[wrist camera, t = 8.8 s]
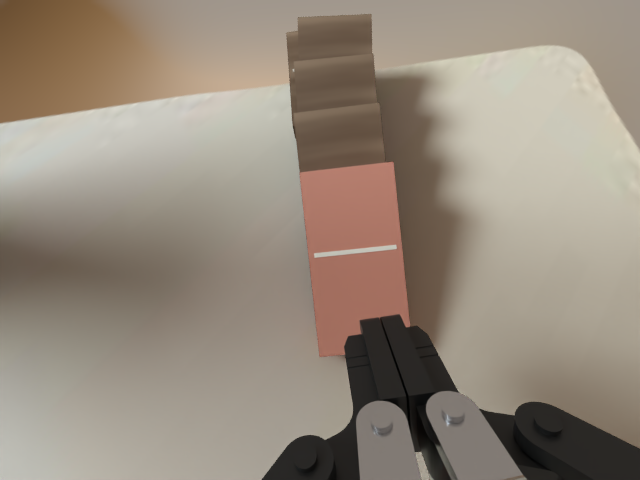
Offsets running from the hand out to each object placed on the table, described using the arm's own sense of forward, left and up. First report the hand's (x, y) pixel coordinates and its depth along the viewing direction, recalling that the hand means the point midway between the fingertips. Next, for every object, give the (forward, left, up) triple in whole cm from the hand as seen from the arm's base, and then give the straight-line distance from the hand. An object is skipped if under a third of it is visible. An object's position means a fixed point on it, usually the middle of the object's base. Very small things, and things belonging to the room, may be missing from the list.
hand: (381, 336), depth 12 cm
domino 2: (-4, +2, -7) cm, 8 cm away
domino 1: (0, 0, -7) cm, 7 cm away
